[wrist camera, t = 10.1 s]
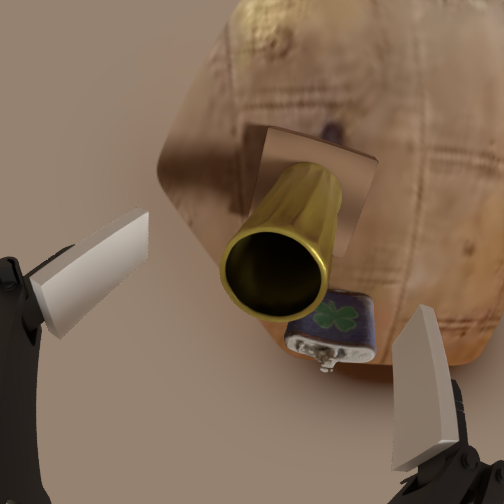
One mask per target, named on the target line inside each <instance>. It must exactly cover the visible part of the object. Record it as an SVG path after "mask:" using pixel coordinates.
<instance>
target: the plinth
mask: <svg viewBox="0 0 504 504" xmlns="http://www.w3.org/2000/svg"><path fill="white" fill-rule="evenodd" d="M299 163H315V164H318V165H321V166H323V167H325V168H326V169H328V170H329V171H330V172H331V173H332V174H333V175H334V176H335V177H336V179H337V180H338V182H339V184H340V187H341V191H342V202H341V206H340V209H339V212H338V213H337V228H336V236H335V243H334V249H333V255H332V256H335V257H338V258H341V259H343V257H344V255H345V252H346V250H347V247H348V245H349V242H350V240H351V237H352V235H353V232H354V230H355V227H356V224H357V222H358V219H359V216H360V214H361V211H362V208H363V206H364V203H365V200H366V197H367V194H368V192H369V189H370V186H371V183H372V180H373V177H374V174H375V171H376V168H377V165H378V160H377V159H376V158H375V157H373V156H371V155H368V154H365V153H362V152H360V151H357V150H354V149H351V148H348V147H345V146H342V145H339V144H336V143H333V142H330V141H326V140H323V139H320V138H317V137H313V136H310V135H306V134H303V133H299V132H295V131H292V130H288V129H284V128H280V127H276V126H275V127H269V128H268V131H267V135H266V140H265V144H264V149H263V153H262V157H261V162H260V166H259V171H258V175H257V180H256V184H255V189H254V193H253V198H252V203H251V207H250V212H249V216H248V218H249V217H250V216H251V214H252V213H253V212H254V211H255V209H256V208H257V207H258V206H259V204H260V203H261V202H262V200H263V199H264V198H265V196H266V195H267V194H268V193H269V191H270V190H271V189H272V188H273V186H274V185H275V183H276V182H277V181H278V179H279V177H280V175H281V174H282V173H283V172H284V171H285V170H286V169H288V168H289V167H291V166H293V165H295V164H299Z"/></svg>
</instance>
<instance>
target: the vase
mask: <svg viewBox="0 0 504 504" xmlns="http://www.w3.org/2000/svg"><path fill="white" fill-rule="evenodd" d="M341 202H342V191H341V187H340V184H339V182H338V180H337V179H336V177H335V176H334V175H333V174H332V173H331V172H330V171H329V170H328V169H326V168H325V167H323V166H321V165H318V164H315V163H299V164H295V165H293V166H291V167H289V168H288V169H286V170H285V171H284V172H283V173H282V174H281V175H280V177H279V179H278V181H277V182H276V183H275V185H274V186H273V188H272V189H271V190H270V191H269V193H268V194H267V195H266V196H265V198H264V199H263V200H262V202H261V203H260V204H259V206H258V207H257V208H256V209H255V211H254V212H253V213H252V214H251V216H250V217H249V218H248V220H247V221H246V222H245V223H244V224H243V226H242V227H241V229H240V230H239V231H238V232H237V233H236V235H235V236H234V237H233V238H232V239H231V240H230V241H229V242H228V243H227V245H226V248H225V250H224V253H223V255H222V258H221V260H220V278H221V282H222V285H223V287H224V289H225V291H226V292H227V293H228V295H229V297H230V299H231V300H232V301H233V302H234V304H236V305H237V306H238V307H239V308H240V309H242V310H243V311H245V312H246V313H248V314H249V315H251V316H253V317H256V318H259V319H262V320H266V321H271V322H289V321H293V320H297V319H300V318H303V317H305V316H307V315H308V314H310V313H311V312H313V311H314V310H315V309H316V308H317V307H318V306H319V304H320V303H321V302H322V300H323V299H324V296H325V294H326V292H327V288H328V284H329V279H330V272H331V263H332V255H333V249H334V243H335V236H336V228H337V213H338V212H339V209H340V206H341Z"/></svg>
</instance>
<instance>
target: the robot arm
mask: <svg viewBox="0 0 504 504" xmlns="http://www.w3.org/2000/svg"><path fill="white" fill-rule="evenodd" d="M148 216H149V211H146V210H143V209H140V208H134V209H133V210H131V211H129V212H127V213H126V214H124V215H122V216H121V217H119V218H117V219H116V220H114V221H112V222H111V223H109V224H108V225H106V226H104V227H103V228H101V229H99V230H98V231H96V232H95V233H93V234H91V235H90V236H88V237H87V238H86V239H84V240H82V241H81V242H79V243H78V244H76V245H75V244H74V245H71V246H68V247H65V248H63V249H62V250H60V251H59V252H57V253H56V254H55V255H53V256H51V257H50V258H48V260H46V261H44V262H43V263H41V264H40V265H39V266H37V267H36V268H34V269H33V270H32V271H30V272H29V273H28V274H26V275H25V276H22V272H21V269H20V266H19V262H18V260H17V259H16V258H14V257H4V258H1V259H0V504H6V503H8V504H51V501H50V498H49V496H48V495H47V493H46V491H45V490H44V488H43V486H42V482H41V476H40V469H39V459H38V448H37V431H36V388H37V371H38V358H39V349H40V341H41V333H42V329H41V325H40V324H41V323H43V322H44V321H45V323H46V325H47V328H48V330H49V331H50V332H51V333H52V334H53V335H55V336H56V337H57V338H59V339H62V338H63V337H64V336H65V334H66V333H68V331H70V330H71V329H72V328H73V327H74V326H75V325H76V324H77V323H78V322H79V321H80V320H81V319H82V318H83V317H84V316H85V315H86V314H87V313H88V312H89V311H91V309H93V308H94V307H95V306H96V305H97V304H98V303H99V302H100V301H101V300H102V299H103V298H104V297H106V296H107V295H108V294H109V293H110V292H111V291H112V290H113V289H114V288H115V287H117V286H118V285H119V284H120V283H121V282H122V281H123V280H124V279H125V278H127V277H128V276H129V275H130V274H131V273H132V272H133V271H135V270H136V269H137V268H138V267H139V266H140V265H142V264H143V263H144V262H145V261H146V260H147V259H148ZM392 357H393V375H394V376H393V377H394V437H393V456H392V467H391V468H392V469H391V470H392V471H406V472H408V471H410V470H412V469H414V468H415V467H417V466H418V473H417V474H415V475H413V476H411V477H409V478H406V479H404V480H403V481H402V482H400V484H403V483H406V482H407V483H406V485H405V486H404V487H403V488H402V489H401V490H400V491H399V492H398V493H397V494H396V495H395V496H394V497H393V499H392V500H391V501H390V502H389V503H388V504H504V461H503V460H499V461H497V462H495V463H494V464H492V465H487V464H485V463H483V462H481V461H480V458H479V455H478V452H477V451H476V449H475V448H473V447H472V446H469V445H468V438H467V428H466V421H465V413H463V412H464V407H463V404H462V395H461V390H460V389H459V386H458V384H457V382H456V380H453V379H451V378H450V373H449V368H448V364H447V359H446V355H445V350H444V346H443V342H442V338H441V334H440V331H439V327H438V323H437V320H436V316H435V313H434V310H433V308H431V307H428V306H425V305H423V304H420V305H419V306H418V308H417V309H416V311H415V312H414V314H413V315H412V317H411V318H410V320H409V321H408V323H407V324H406V326H405V327H404V329H403V330H402V331H401V333H400V334H399V336H398V337H397V338H396V340H395V341H394V343H393V344H392Z"/></svg>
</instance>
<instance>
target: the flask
mask: <svg viewBox="0 0 504 504" xmlns="http://www.w3.org/2000/svg"><path fill="white" fill-rule="evenodd" d="M284 338H285V339H284V340H285V344H286V346H287V347H288V348H289V349H291V350H293V351H296V352H299V353H302V354H305V355H308V356H311V357H315V358H316V360H318V361H319V362H324V363H323V364H322V365H321V366H324V367H327V368H332V367H333V366H334V364H335V362H338V361H339V362H354V363H359V362H361V363H365V362H369V361H370V360H372V359H373V358H374V357H375V355H376V343H375V330H374V309H373V301H372V298H371V297H369V296H367V295H365V294H362V293H358V294H355V293H350V292H347V291H344V290H339V289H338V290H333V291H332V290H329V288H327V292H326V294H325V296H324V299H323V300H322V302H321V303H320V304H319V306H318V307H317V308H316V309H315V310H314V311H313V312H311V313H310V314H308V315H307V316H305V317H303V318H300V319H297V320H293V321H289V323H288V325H287V329H286V332H285V334H284ZM320 370H321V371H323V372H328V370H327V369H324V368H320ZM330 371H333V370H332V369H331V370H330Z"/></svg>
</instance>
